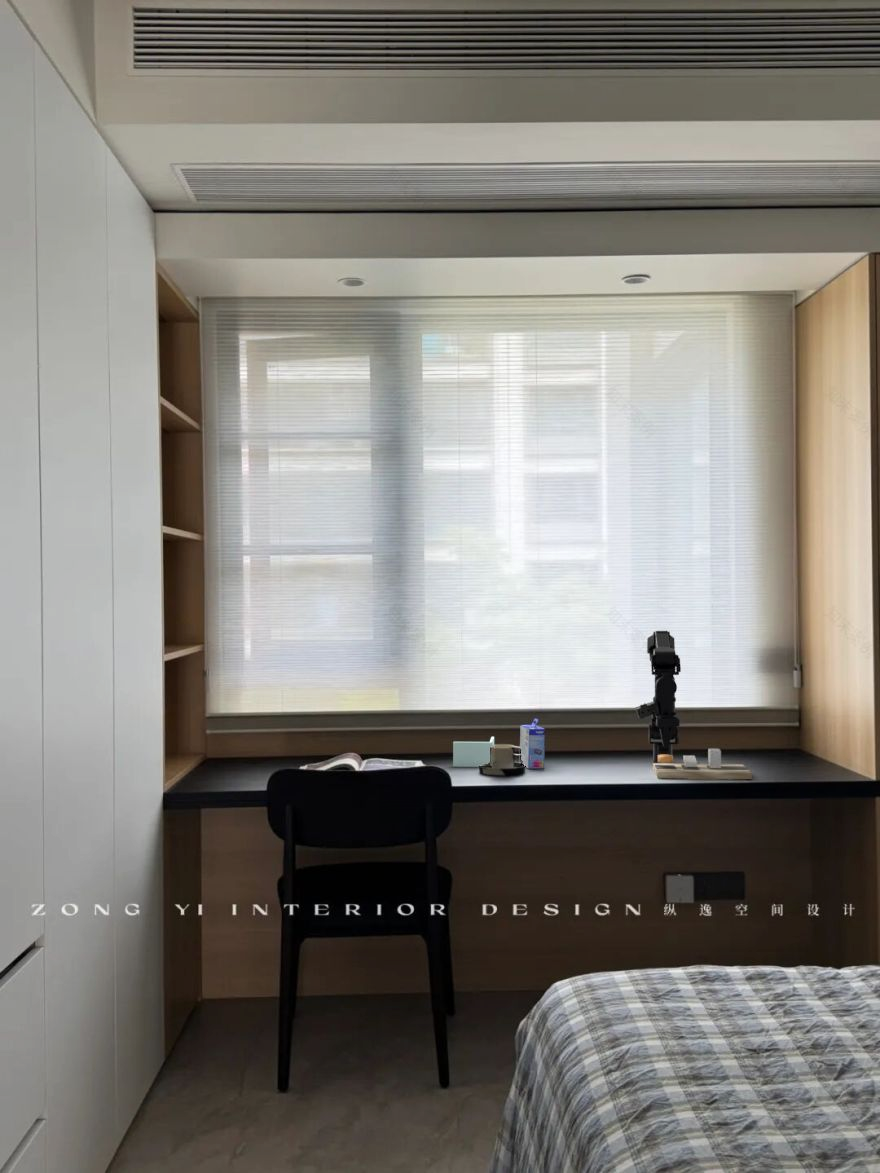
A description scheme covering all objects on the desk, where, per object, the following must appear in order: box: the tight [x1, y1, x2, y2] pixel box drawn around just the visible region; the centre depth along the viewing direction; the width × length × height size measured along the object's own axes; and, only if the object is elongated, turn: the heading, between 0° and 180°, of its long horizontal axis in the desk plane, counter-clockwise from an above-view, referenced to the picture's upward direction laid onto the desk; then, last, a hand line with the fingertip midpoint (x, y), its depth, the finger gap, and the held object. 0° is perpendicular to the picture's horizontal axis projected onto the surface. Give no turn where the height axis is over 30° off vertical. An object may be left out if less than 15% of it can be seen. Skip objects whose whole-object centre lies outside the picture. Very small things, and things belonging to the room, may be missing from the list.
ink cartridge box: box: [519, 718, 546, 770], centre depth 298 cm, size 10×6×14 cm, turn 11°
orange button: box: [658, 754, 674, 763], centre depth 284 cm, size 4×4×2 cm
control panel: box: [652, 762, 753, 780], centre depth 282 cm, size 14×26×2 cm, turn 83°
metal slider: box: [707, 748, 722, 768], centre depth 282 cm, size 4×3×5 cm
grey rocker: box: [682, 755, 698, 767], centre depth 283 cm, size 6×3×1 cm, turn 173°
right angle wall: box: [452, 736, 495, 768], centre depth 304 cm, size 12×12×8 cm
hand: (665, 747), depth 284 cm, fingers closed
